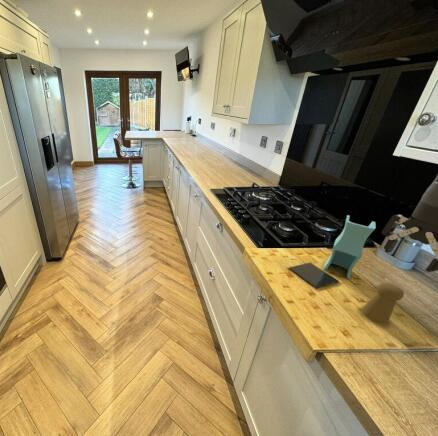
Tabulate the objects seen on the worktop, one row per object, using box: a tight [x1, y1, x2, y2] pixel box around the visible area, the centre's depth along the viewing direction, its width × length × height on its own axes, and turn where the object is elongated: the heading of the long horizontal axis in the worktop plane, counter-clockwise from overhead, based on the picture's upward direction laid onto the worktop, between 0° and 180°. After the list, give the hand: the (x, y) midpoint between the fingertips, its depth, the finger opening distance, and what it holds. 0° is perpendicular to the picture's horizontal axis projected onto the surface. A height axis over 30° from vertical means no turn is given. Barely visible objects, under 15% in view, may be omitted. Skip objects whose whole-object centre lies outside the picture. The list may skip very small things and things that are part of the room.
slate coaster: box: [288, 262, 340, 289], centre depth 85 cm, size 11×11×1 cm
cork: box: [361, 282, 405, 325], centre depth 67 cm, size 6×6×11 cm
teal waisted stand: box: [323, 214, 377, 279], centre depth 84 cm, size 8×8×20 cm
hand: (407, 260), depth 61 cm, fingers open, 8 cm apart
